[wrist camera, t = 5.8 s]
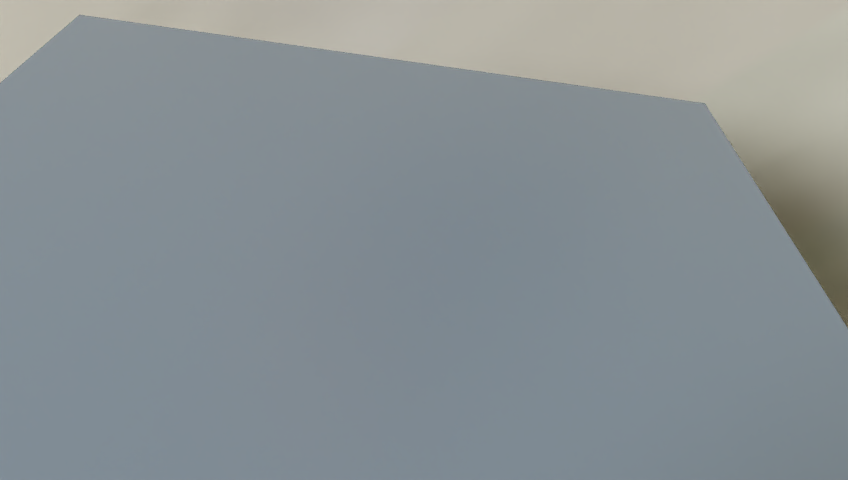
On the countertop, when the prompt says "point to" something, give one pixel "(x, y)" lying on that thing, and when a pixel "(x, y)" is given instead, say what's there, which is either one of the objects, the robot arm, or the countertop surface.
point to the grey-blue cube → (389, 276)
